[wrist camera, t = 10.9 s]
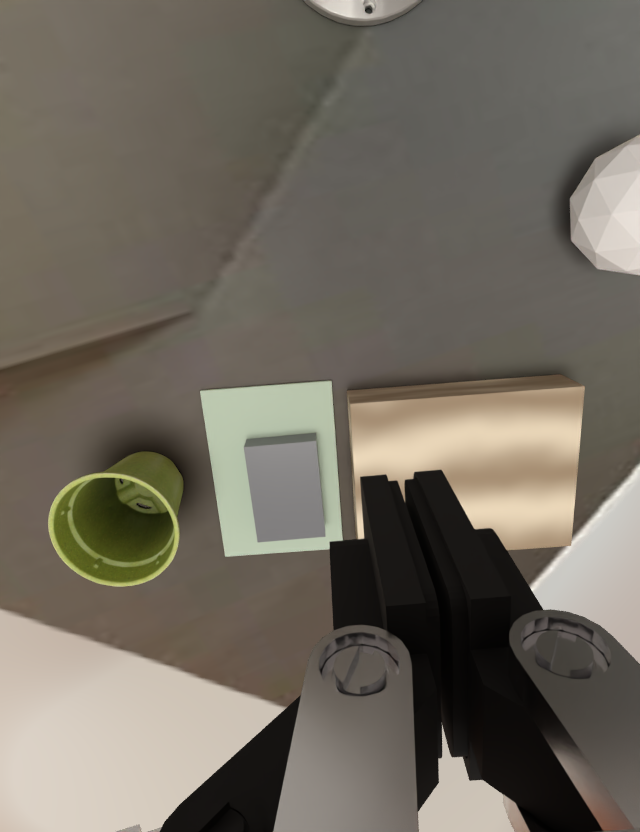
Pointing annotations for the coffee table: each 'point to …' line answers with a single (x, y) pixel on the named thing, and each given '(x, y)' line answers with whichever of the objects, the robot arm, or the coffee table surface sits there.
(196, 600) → the coffee table surface
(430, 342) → the coffee table surface
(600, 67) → the coffee table surface
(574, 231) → the perfume bottle
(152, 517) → the plant pot
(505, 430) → the light wood flat block
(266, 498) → the grey rectangular block
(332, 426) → the mat
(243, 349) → the coffee table surface
